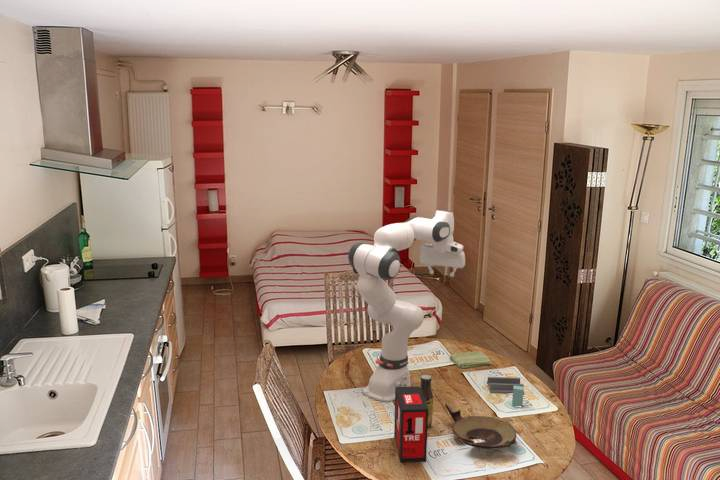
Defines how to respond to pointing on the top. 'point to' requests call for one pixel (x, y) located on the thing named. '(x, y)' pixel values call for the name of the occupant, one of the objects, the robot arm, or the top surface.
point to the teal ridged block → (517, 396)
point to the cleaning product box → (410, 424)
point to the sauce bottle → (427, 396)
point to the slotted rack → (502, 384)
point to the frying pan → (482, 430)
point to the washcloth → (470, 359)
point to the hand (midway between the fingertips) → (441, 275)
